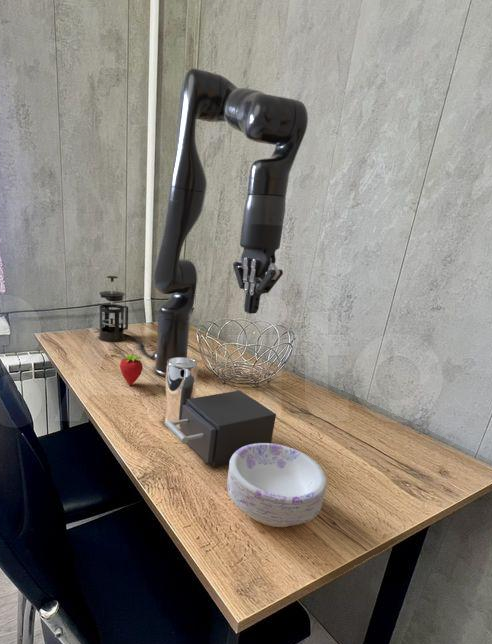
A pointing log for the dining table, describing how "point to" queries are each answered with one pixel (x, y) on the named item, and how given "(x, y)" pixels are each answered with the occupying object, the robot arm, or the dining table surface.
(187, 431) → the drawer
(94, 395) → the dining table surface
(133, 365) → the strawberry
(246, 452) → the paper bowls
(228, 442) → the cabinet
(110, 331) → the french press
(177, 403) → the beer glass
